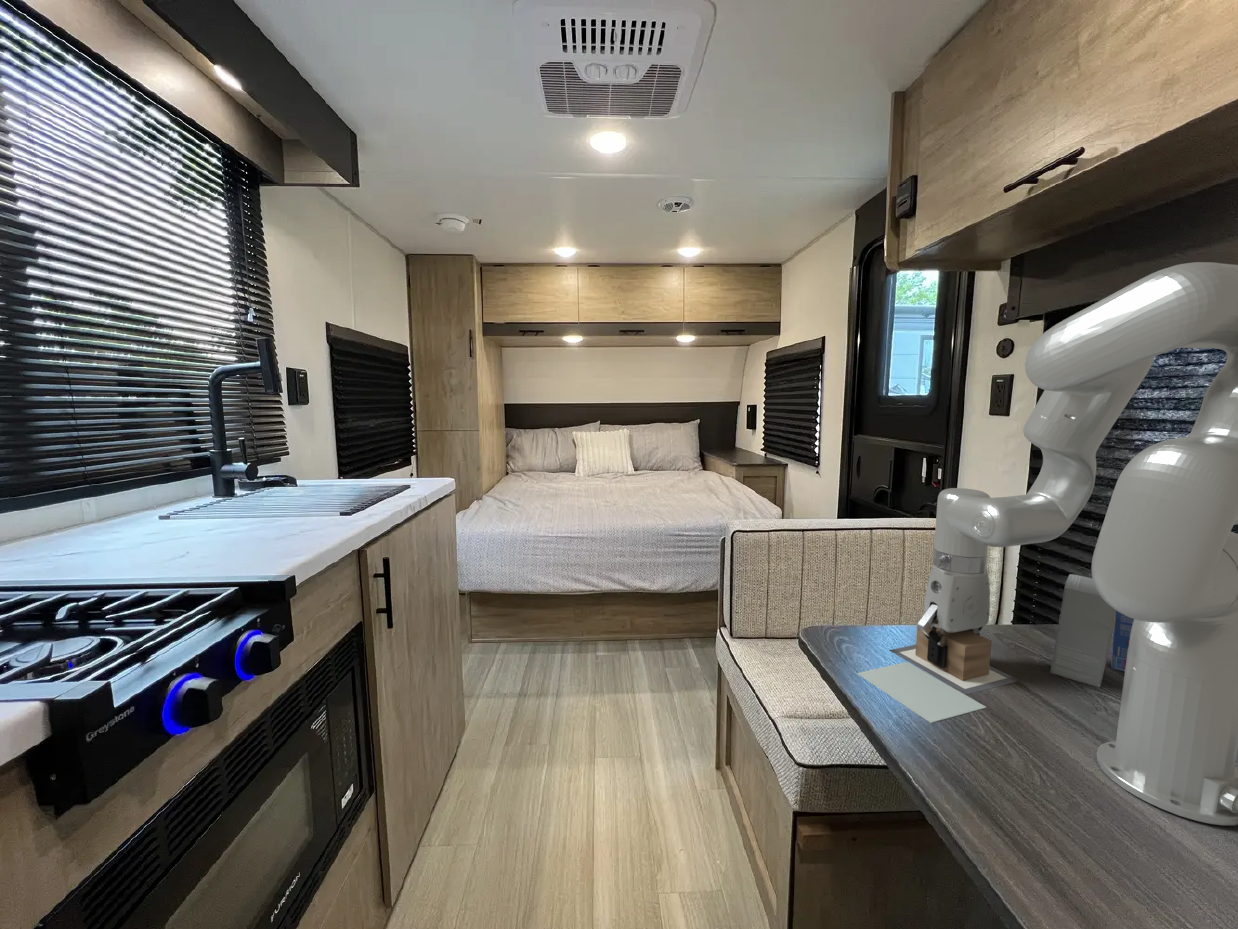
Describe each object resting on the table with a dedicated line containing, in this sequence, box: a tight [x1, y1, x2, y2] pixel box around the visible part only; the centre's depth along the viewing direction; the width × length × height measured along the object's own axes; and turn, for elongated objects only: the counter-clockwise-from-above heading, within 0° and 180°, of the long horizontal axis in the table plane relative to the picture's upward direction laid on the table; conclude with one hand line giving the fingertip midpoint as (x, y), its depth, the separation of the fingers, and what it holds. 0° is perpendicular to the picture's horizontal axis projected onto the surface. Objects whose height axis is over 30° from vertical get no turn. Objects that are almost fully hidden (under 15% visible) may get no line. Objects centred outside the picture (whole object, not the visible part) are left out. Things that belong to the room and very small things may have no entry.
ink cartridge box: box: [1110, 611, 1134, 673], centre depth 88 cm, size 10×6×14 cm, turn 135°
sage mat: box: [857, 661, 987, 724], centre depth 82 cm, size 14×11×1 cm
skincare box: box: [1050, 573, 1116, 688], centre depth 85 cm, size 8×7×16 cm
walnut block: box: [915, 622, 993, 681], centre depth 89 cm, size 9×6×6 cm, turn 19°
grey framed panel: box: [888, 644, 1020, 696], centre depth 89 cm, size 15×12×1 cm
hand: (950, 660), depth 89 cm, fingers closed on walnut block, 6 cm apart
